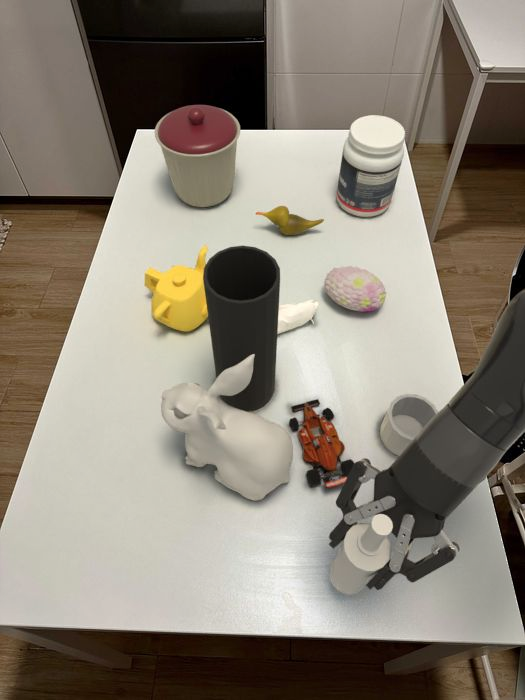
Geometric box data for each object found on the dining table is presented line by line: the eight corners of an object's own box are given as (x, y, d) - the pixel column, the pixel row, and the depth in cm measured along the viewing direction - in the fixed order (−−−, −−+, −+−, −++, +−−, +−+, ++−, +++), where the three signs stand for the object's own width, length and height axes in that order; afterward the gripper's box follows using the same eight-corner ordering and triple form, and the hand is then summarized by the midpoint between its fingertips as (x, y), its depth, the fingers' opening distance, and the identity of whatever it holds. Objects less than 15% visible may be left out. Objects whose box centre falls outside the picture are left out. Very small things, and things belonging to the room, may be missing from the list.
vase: (231, 355, 96) (221, 237, 72) (282, 371, 95) (290, 256, 70) (209, 401, 91) (190, 290, 66) (263, 419, 89) (264, 312, 64)
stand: (438, 436, 87) (450, 418, 82) (407, 467, 84) (418, 450, 79) (400, 404, 91) (410, 385, 85) (369, 433, 88) (377, 414, 82)
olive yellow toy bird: (256, 223, 117) (256, 200, 111) (322, 226, 116) (325, 204, 111) (254, 236, 114) (254, 213, 109) (322, 240, 114) (325, 217, 108)
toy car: (325, 398, 91) (327, 386, 88) (359, 486, 83) (363, 476, 79) (283, 408, 90) (284, 397, 87) (313, 498, 81) (315, 489, 78)
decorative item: (325, 259, 104) (357, 250, 95) (364, 283, 109) (398, 277, 100) (311, 300, 102) (342, 294, 93) (352, 322, 107) (385, 319, 98)
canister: (166, 170, 127) (151, 86, 109) (239, 166, 128) (236, 82, 110) (166, 221, 117) (149, 137, 99) (245, 215, 118) (242, 132, 100)
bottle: (324, 559, 71) (348, 503, 51) (360, 552, 72) (399, 493, 51) (333, 599, 68) (363, 557, 48) (371, 592, 69) (417, 547, 48)
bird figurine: (299, 309, 104) (256, 319, 100) (312, 290, 99) (267, 300, 94) (310, 329, 103) (267, 341, 98) (323, 311, 97) (279, 322, 93)
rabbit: (191, 409, 90) (171, 324, 69) (301, 453, 86) (315, 375, 65) (159, 467, 84) (126, 392, 63) (275, 517, 80) (281, 454, 59)
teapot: (226, 329, 100) (224, 296, 92) (158, 344, 98) (149, 312, 90) (210, 277, 107) (206, 243, 99) (146, 291, 105) (137, 257, 97)
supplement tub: (334, 182, 125) (344, 111, 109) (387, 184, 124) (405, 113, 109) (336, 219, 117) (347, 148, 102) (392, 221, 117) (412, 150, 102)
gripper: (383, 414, 53) (292, 525, 58) (502, 520, 47) (389, 633, 52) (404, 408, 59) (321, 509, 65) (512, 501, 53) (410, 603, 59)
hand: (352, 564), depth 58 cm, fingers closed on bottle, 5 cm apart
